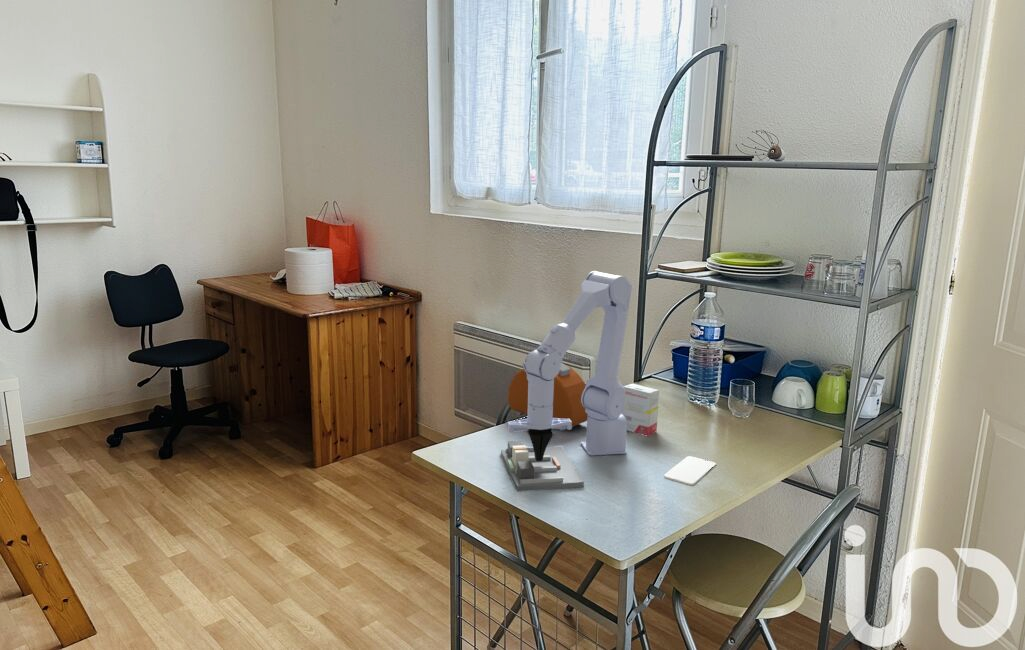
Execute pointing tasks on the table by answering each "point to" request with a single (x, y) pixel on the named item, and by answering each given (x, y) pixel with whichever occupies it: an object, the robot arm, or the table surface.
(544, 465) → the breaker board
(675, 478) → the smartphone
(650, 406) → the ink box
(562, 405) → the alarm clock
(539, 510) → the table surface
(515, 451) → the handle
